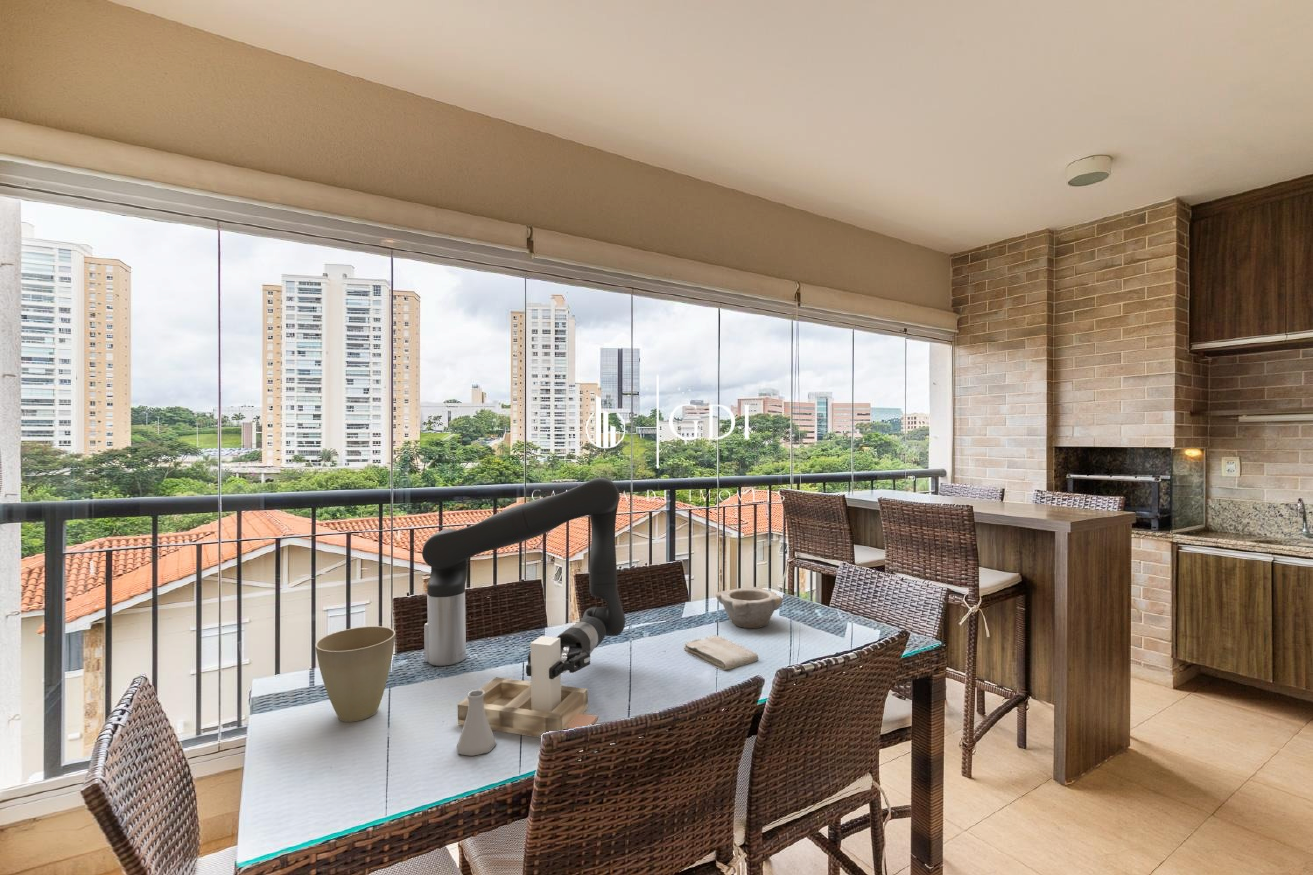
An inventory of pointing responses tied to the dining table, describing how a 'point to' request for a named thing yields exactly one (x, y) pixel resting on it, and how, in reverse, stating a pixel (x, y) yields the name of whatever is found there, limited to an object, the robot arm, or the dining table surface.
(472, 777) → the dining table surface
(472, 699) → the flask
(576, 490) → the robot arm
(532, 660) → the plug peg
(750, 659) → the washcloth
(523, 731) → the socket block
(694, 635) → the dining table surface
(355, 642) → the plant pot
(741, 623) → the mortar
